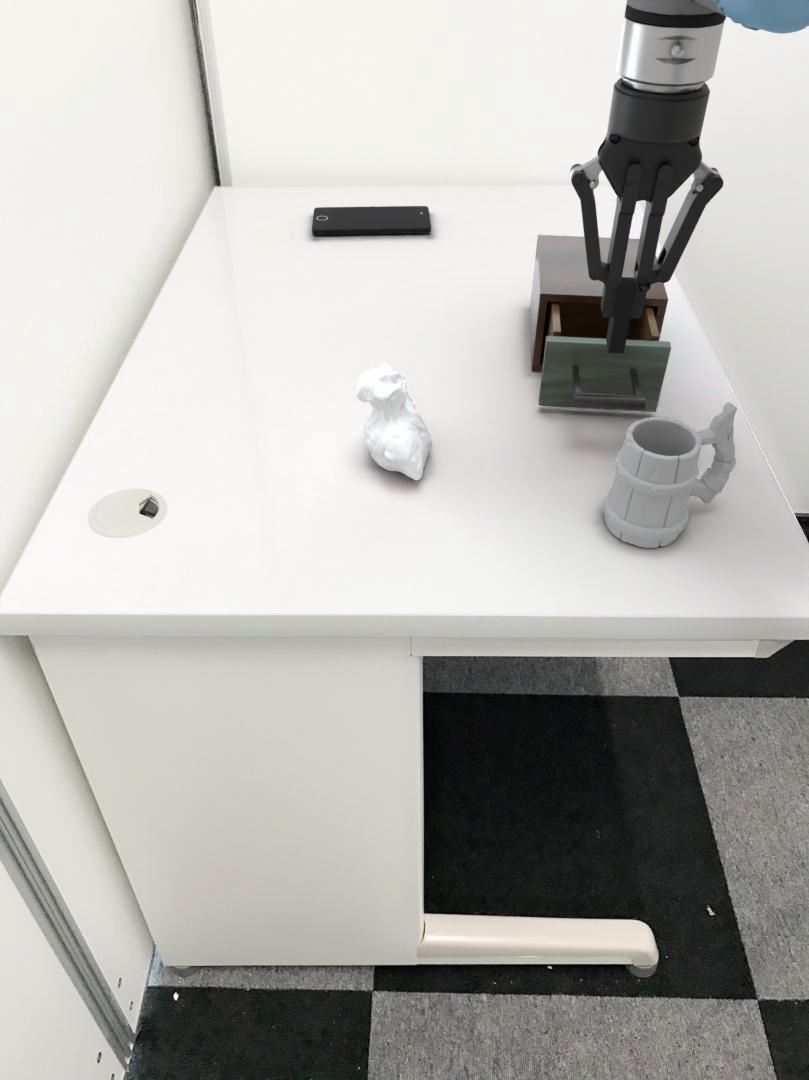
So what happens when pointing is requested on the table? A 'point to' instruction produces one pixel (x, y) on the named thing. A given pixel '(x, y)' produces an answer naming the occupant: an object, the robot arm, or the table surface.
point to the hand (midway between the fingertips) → (614, 346)
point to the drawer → (600, 361)
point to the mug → (666, 477)
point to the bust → (393, 422)
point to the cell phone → (371, 220)
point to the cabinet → (576, 283)
